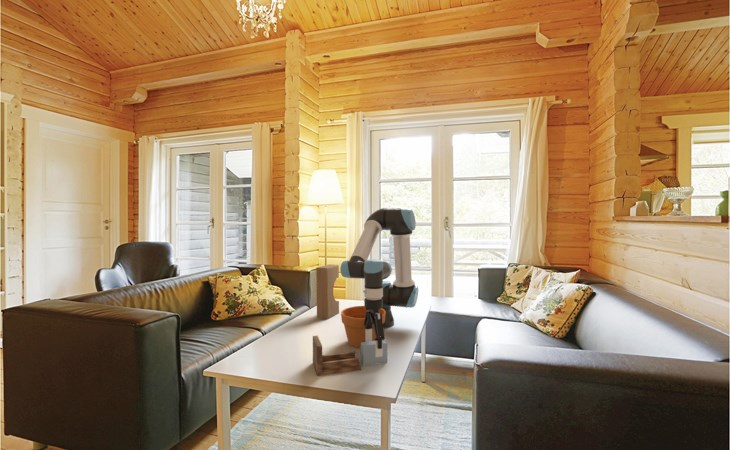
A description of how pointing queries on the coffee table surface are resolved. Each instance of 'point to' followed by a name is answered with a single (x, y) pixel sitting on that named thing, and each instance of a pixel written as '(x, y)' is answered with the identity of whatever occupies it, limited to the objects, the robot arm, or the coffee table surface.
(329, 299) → the decorative block
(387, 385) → the coffee table surface
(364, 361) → the blue-gray rectangular block
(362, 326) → the flower pot
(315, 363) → the track
